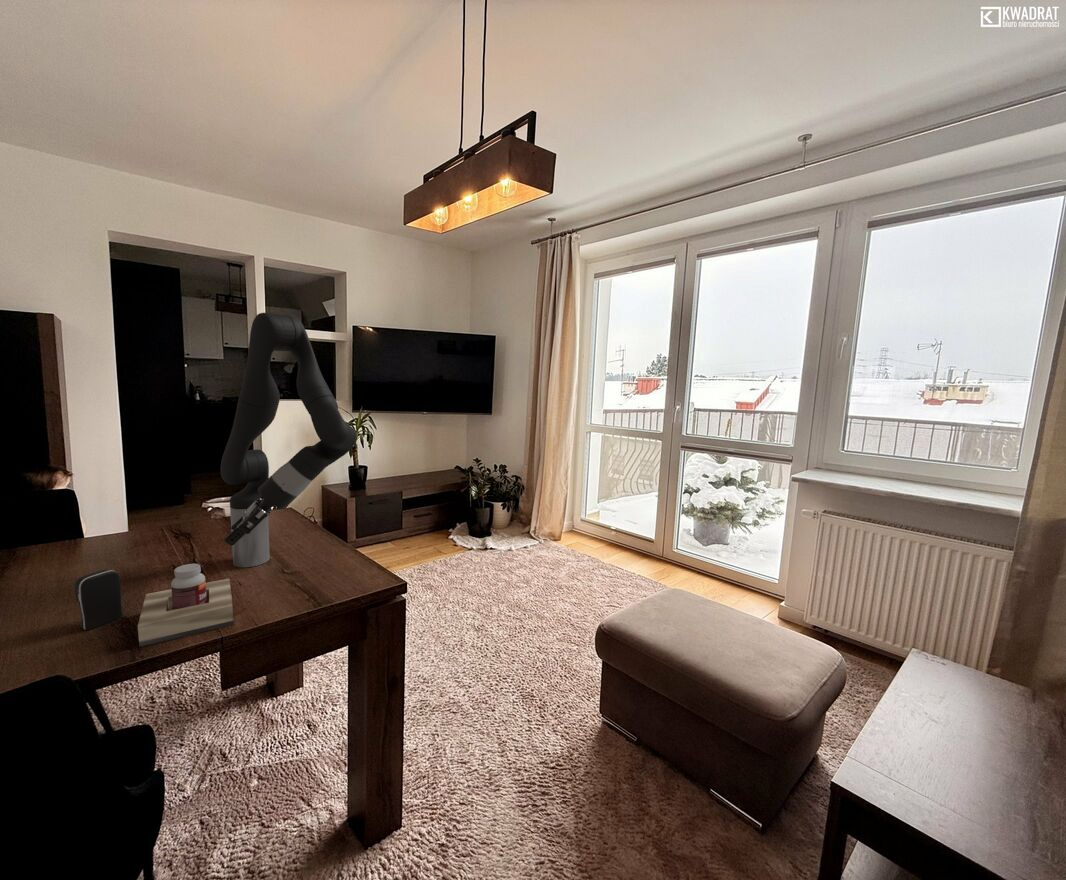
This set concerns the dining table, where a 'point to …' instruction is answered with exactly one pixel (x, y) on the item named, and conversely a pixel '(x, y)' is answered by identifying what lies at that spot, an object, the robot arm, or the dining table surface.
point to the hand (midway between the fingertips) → (231, 536)
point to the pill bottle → (188, 587)
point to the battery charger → (98, 598)
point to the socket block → (184, 614)
